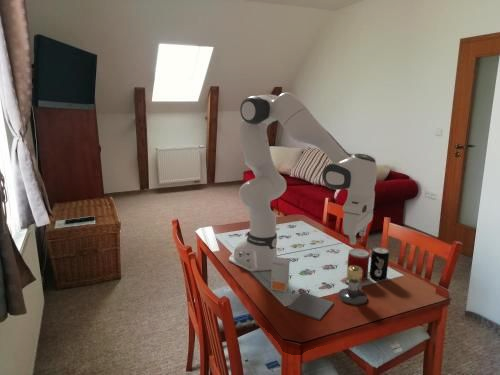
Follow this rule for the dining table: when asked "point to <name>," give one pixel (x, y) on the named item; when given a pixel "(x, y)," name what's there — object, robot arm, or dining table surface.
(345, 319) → the dining table surface
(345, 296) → the silver metal stand
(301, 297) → the mat
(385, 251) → the beverage can
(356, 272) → the cap
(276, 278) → the skincare box
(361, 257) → the canned food
